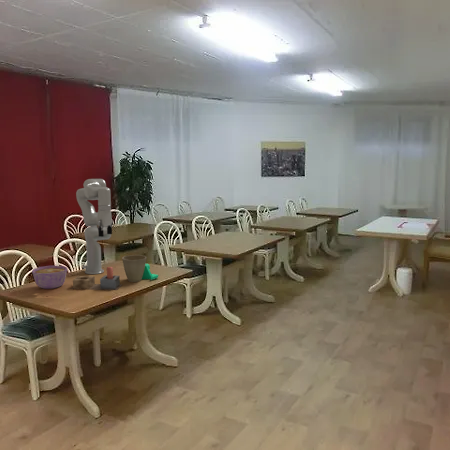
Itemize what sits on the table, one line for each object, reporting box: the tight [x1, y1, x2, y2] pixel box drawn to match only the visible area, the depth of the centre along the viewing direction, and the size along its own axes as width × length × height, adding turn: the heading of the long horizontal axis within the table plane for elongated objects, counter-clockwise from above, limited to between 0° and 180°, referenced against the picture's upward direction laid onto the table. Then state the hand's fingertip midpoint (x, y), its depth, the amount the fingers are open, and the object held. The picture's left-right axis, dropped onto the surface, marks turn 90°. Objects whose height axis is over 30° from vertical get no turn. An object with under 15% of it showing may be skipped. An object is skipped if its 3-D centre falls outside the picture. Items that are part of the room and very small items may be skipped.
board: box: [70, 283, 123, 291], centre depth 281 cm, size 28×12×1 cm, turn 86°
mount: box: [72, 275, 96, 290], centre depth 281 cm, size 10×9×5 cm
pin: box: [106, 266, 114, 279], centre depth 280 cm, size 3×3×12 cm
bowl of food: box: [31, 265, 68, 290], centre depth 281 cm, size 20×20×12 cm
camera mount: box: [141, 263, 159, 281], centre depth 304 cm, size 12×8×10 cm, turn 58°
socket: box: [99, 274, 121, 289], centre depth 280 cm, size 9×9×6 cm
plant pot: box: [122, 254, 147, 283], centre depth 296 cm, size 15×15×16 cm
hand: (105, 235), depth 290 cm, fingers open, 9 cm apart
